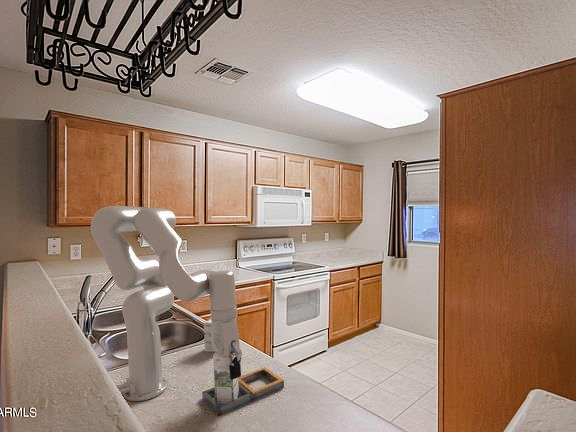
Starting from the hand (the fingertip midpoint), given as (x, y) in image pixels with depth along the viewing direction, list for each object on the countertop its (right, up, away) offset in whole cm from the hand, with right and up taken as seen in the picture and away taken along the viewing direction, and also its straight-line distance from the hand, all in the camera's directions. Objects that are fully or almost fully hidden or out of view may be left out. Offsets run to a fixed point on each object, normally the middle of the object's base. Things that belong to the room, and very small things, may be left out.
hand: (228, 371), depth 93 cm
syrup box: (0, -8, 0) cm, 8 cm away
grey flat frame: (+4, -8, +3) cm, 10 cm away
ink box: (-12, -9, +37) cm, 39 cm away
